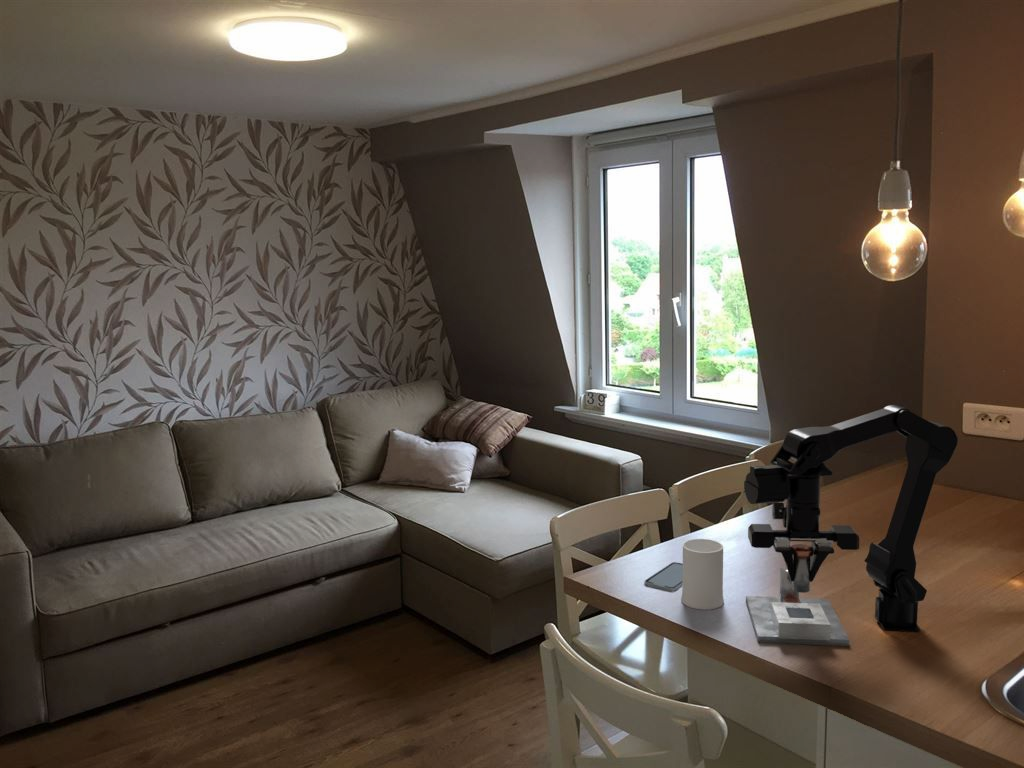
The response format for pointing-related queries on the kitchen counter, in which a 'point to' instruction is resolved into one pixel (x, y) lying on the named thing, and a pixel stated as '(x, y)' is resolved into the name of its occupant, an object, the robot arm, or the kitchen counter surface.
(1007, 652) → the kitchen counter surface
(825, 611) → the socket base
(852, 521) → the kitchen counter surface
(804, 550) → the copper-capped peg
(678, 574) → the smartphone
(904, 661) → the kitchen counter surface
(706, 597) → the mug
